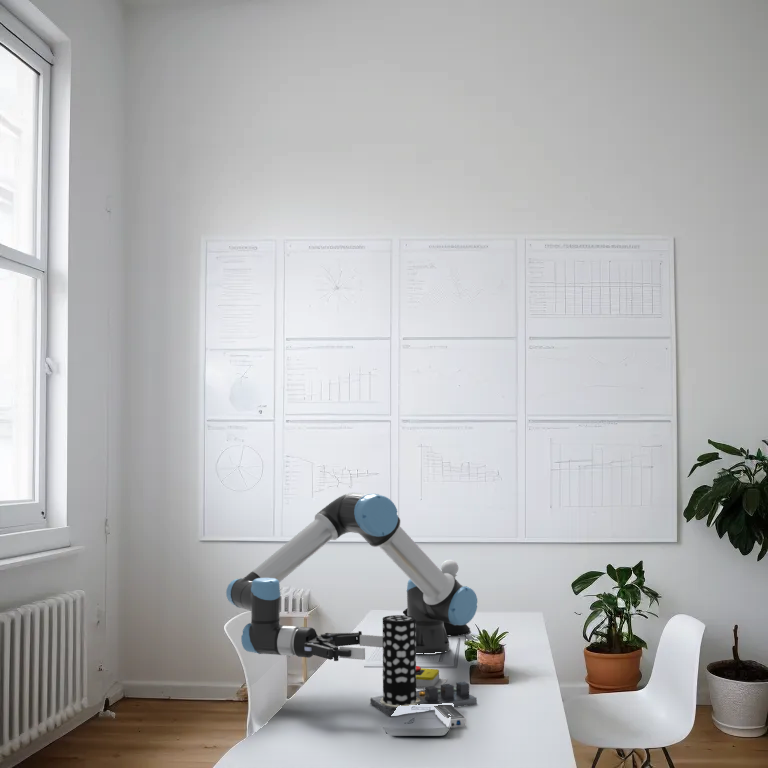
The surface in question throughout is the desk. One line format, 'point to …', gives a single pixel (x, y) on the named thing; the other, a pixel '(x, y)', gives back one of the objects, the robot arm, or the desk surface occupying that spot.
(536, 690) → the desk surface
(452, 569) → the sculpture
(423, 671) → the emergency button
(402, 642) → the spotted tube
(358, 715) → the desk surface
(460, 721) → the multiport hub
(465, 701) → the breaker board
